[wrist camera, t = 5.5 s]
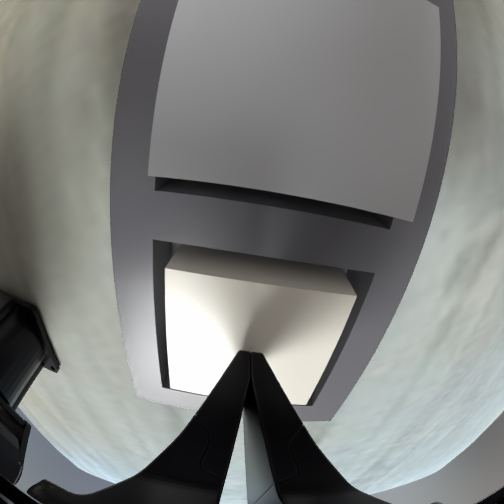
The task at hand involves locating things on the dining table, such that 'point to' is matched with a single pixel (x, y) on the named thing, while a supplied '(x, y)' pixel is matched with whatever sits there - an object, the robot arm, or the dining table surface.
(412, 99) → the grey key
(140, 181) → the frame
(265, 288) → the cream key
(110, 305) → the dining table surface
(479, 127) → the dining table surface
